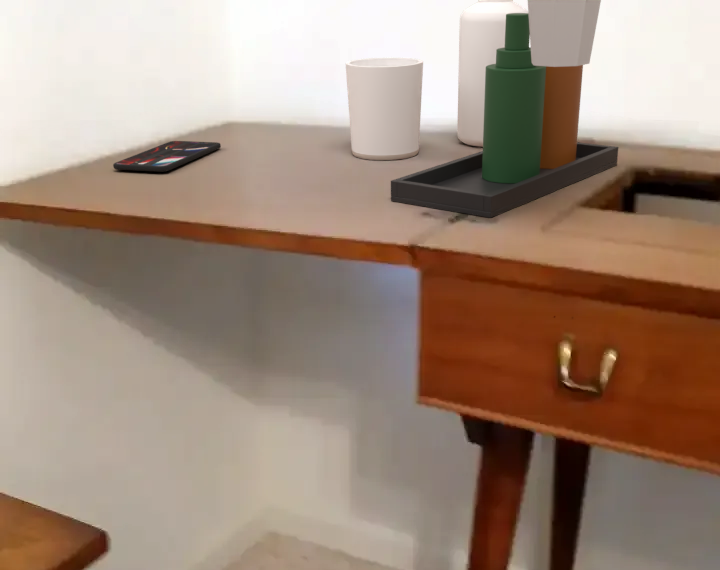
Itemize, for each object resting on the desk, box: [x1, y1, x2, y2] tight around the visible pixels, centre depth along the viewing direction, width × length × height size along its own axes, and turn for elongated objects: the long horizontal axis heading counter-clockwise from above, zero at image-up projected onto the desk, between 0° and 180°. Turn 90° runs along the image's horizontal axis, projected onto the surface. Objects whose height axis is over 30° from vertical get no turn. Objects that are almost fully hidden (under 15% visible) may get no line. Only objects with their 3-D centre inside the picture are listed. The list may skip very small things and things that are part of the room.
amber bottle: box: [540, 65, 584, 169], centre depth 104 cm, size 6×6×16 cm
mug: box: [345, 57, 424, 161], centre depth 115 cm, size 11×9×10 cm
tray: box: [390, 141, 620, 219], centre depth 102 cm, size 12×27×2 cm, turn 141°
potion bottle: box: [456, 0, 528, 148], centre depth 117 cm, size 8×8×18 cm
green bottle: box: [482, 13, 546, 184], centre depth 99 cm, size 6×6×16 cm
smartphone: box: [112, 140, 222, 173], centre depth 117 cm, size 7×1×15 cm
